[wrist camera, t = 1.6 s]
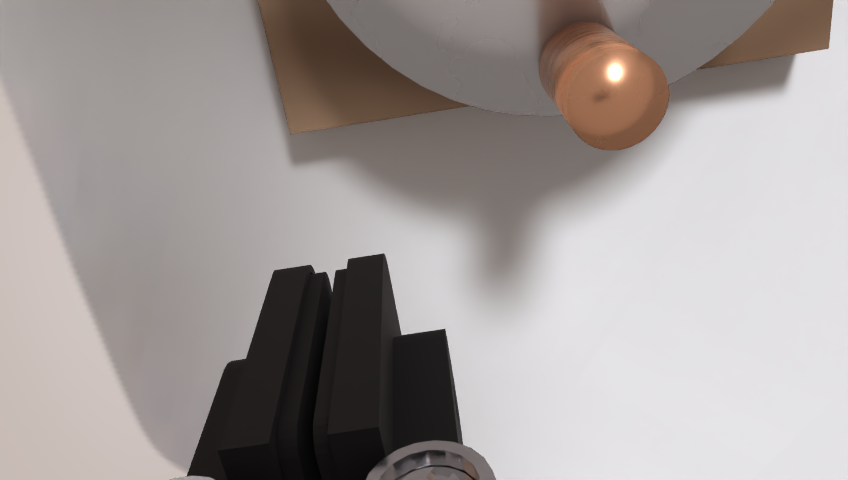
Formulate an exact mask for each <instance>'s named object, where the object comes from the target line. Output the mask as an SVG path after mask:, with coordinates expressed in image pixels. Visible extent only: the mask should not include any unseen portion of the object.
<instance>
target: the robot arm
mask: <svg viewBox="0 0 848 480" xmlns="http://www.w3.org/2000/svg"><path fill="white" fill-rule="evenodd" d="M171 480H496V478H495V476H494V473H493V471H492V469H491V467H490V466H489V464H488V463H487V461H486V460H485V458H484V457H483V456H481V455H480V454H479V453H477V452H476V451H475V450H473V449H472V448H470V447H467V446H464V445H463V441H462V433H461V426H460V418H459V411H458V404H457V398H456V391H455V385H454V378H453V372H452V366H451V360H450V354H449V348H448V342H447V336H446V331H445V329H441V330H435V331H428V332H421V333H415V334H408V335H402V336H401V331H400V326H399V320H398V315H397V310H396V305H395V300H394V295H393V290H392V285H391V280H390V275H389V269H388V265H387V260H386V257H385V254H378V255H371V256H365V257H358V258H352V259H348V264H347V269H342V270H336V272H335V278H334V285H333V292H332V289H331V285H330V281H329V278H328V275H327V273H326V272H323V273H316V274H315V272H314V269H313V267H312V266H311V265H307V266H300V267H294V268H287V269H281V270H274V272H273V275H272V278H271V281H270V284H269V287H268V290H267V294H266V297H265V300H264V303H263V306H262V310H261V313H260V316H259V319H258V322H257V326H256V329H255V332H254V335H253V338H252V342H251V345H250V348H249V351H248V354H247V358H246V359H242V360H236V361H231V362H229V363H228V364H227V365H226V367H225V369H224V372H223V375H222V377H221V380H220V383H219V386H218V389H217V392H216V395H215V397H214V400H213V403H212V406H211V409H210V412H209V414H208V417H207V420H206V423H205V426H204V429H203V431H202V434H201V437H200V440H199V443H198V446H197V449H196V451H195V454H194V457H193V460H192V463H191V466H190V468H189V471H188V474H187V477H181V478H174V479H171Z"/></svg>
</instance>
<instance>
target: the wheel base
mask: <svg viewBox="0 0 848 480" xmlns="http://www.w3.org/2000/svg"><path fill="white" fill-rule="evenodd" d="M258 3H259V7H260V11H261V15H262V20H263V24H264V28H265V32H266V36H267V40H268V44H269V48H270V52H271V56H272V61H273V65H274V69H275V73H276V77H277V81H278V85H279V89H280V93H281V98H282V102H283V106H284V110H285V114H286V118H287V122H288V126H289V130H290V134H296V133H303V132H309V131H315V130H321V129H328V128H334V127H340V126H346V125H353V124H359V123H365V122H372V121H378V120H384V119H390V118H397V117H403V116H409V115H415V114H422V113H428V112H434V111H440V110H447V109H453V108H459V107H466V106H470V105H467V104H464V103H460V102H457V101H454V100H451V99H449V98H447V97H445V96H442V95H440V94H438V93H436V92H434V91H431V90H429V89H427V88H425V87H423V86H421V85H419V84H418V83H416V82H414V81H413V80H411V79H410V78H408V77H406V76H405V75H403V74H402V73H400V72H398V71H397V70H395V69H394V68H392V67H391V66H390V65H388V64H387V63H386V62H385V61H384V60H382V59H381V58H380V57H379V56H377V55H376V54H375V53H374V52H373V51H371V50H370V49H369V48H368V47H366V46H365V45H364V44H363V43H362V42H361V41H360V39H359V38H358V37H357V36H356V35H355V34H354V33H353V32H352V31H351V30H350V29H349V28H348V27H347V26H346V25H345V24H344V22H343V21H342V20H341V19H340V18H339V17H338V15H337V14H336V13H335V11H334V10H333V9H332V7H331V6H330V4H329V3H328V2H327V0H258ZM832 8H833V0H775V1H774V3H773V4H772V5H771V6H770V7H769V8H768V9H767V10H766V11H765V12H764V13H763V14H762V15H761V16H760V17H759V18H758V19H757V20H756V21H755V22H754V23H753V24H752V25H751V27H750V28H749V29H748V30H747V31H746V32H745V33H744V34H743V35H741V36H740V37H739V38H738V39H736V40H735V41H734V42H733V43H731V44H730V45H729V46H728V47H727V48H725V49H724V50H723V51H722V52H720V53H719V54H718V55H717V56H715V57H714V58H713V59H711V60H710V61H708V62H707V63H705V64H704V65H702V66H701V67H699V68H697V69H696V70H698V69H704V68H710V67H716V66H723V65H729V64H735V63H741V62H748V61H754V60H760V59H766V58H773V57H779V56H785V55H792V54H798V53H804V52H810V51H817V50H823V49H829V39H830V29H831V18H832Z"/></svg>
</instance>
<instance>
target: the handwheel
mask: <svg viewBox="0 0 848 480" xmlns="http://www.w3.org/2000/svg"><path fill="white" fill-rule="evenodd" d="M774 1H775V0H327V2H328V3H329V4H330V6H331V7H332V9H333V10H334V11H335V13H336V14H337V15H338V17H339V18H340V19H341V20H342V21H343V22H344V24H345V25H346V26H347V27H348V28H349V29H350V30H351V31H352V32H353V33H354V34H355V35H356V36H357V37H358V38H359V39H360V41H361V42H362V43H363V44H364V45H365V46H366V47H368V48H369V49H370V50H371V51H373V52H374V53H375V54H376V55H377V56H379V57H380V58H381V59H382V60H384V61H385V62H386V63H387V64H388V65H390V66H391V67H392V68H394V69H395V70H397V71H398V72H400V73H402V74H403V75H405V76H406V77H408V78H410V79H411V80H413V81H414V82H416V83H418V84H419V85H421V86H423V87H425V88H427V89H429V90H431V91H434V92H436V93H438V94H440V95H442V96H445V97H447V98H449V99H451V100H454V101H457V102H460V103H464V104H467V105H470V106H474V107H477V108H480V109H484V110H489V111H495V112H501V113H507V114H513V115H526V116H559V115H563V116H564V118H565V119H566V120H567V122H568V123H569V125H570V126H571V127H572V129H573V130H574V131H575V133H576V134H577V135H578V136H579V137H580V138H581V139H582V140H583V141H584V142H586V143H587V144H589V145H591V146H593V147H596V148H599V149H604V150H620V149H625V148H628V147H631V146H633V145H636V144H638V143H639V142H641V141H643V140H644V139H645V138H647V137H648V136H649V135H650V134H651V133H652V132H653V131H654V130H655V129H656V128H657V126H658V125H659V124H660V122H661V120H662V119H663V117H664V115H665V112H666V109H667V106H668V101H669V86H668V85H670V84H672V83H674V82H676V81H678V80H680V79H682V78H683V77H685V76H687V75H688V74H690V73H691V72H693V71H694V70H696V69H697V68H699V67H701V66H702V65H704V64H705V63H707V62H708V61H710V60H711V59H713V58H714V57H715V56H717V55H718V54H719V53H720V52H722V51H723V50H724V49H725V48H727V47H728V46H729V45H730V44H731V43H733V42H734V41H735V40H736V39H738V38H739V37H740V36H741V35H743V34H744V33H745V32H746V31H747V30H748V29H749V28H750V27H751V25H752V24H753V23H754V22H755V21H756V20H757V19H758V18H759V17H760V16H761V15H762V14H763V13H764V12H765V11H766V10H767V9H768V8H769V7H770V6H771V5H772V4H773V3H774Z"/></svg>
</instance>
